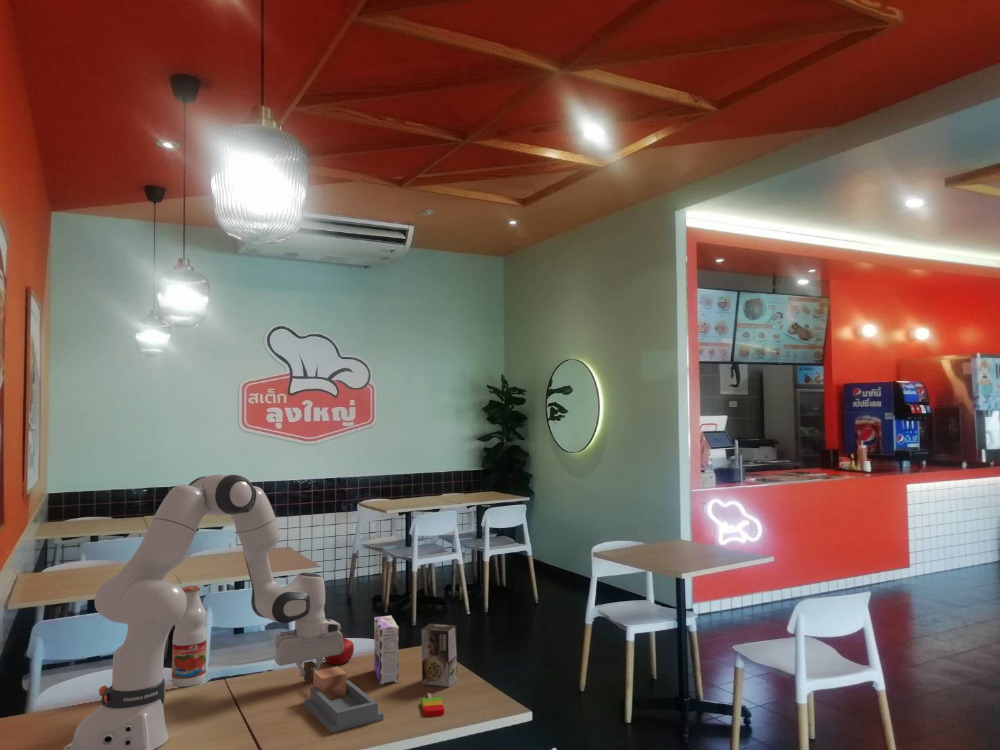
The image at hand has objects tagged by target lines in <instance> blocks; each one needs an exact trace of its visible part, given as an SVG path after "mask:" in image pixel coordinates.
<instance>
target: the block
mask: <svg viewBox="0 0 1000 750" xmlns="http://www.w3.org/2000/svg"><path fill="white" fill-rule="evenodd" d="M315 665H316V663H315V662H314V661H313V660H308V661H303V669H305V670H306V676H303V680H304V681H305V683H312V682H313V685H312V686H313V687H316V688H317V689H318V690H319V691H320V692H321V693H322V694H323V695H324V696H325V697H326V698H328V699H329V700H330V699H334V698H339V697H343V696H346V680H347V673H346V672H345V671H344V670H343V669H341V668H340V667H339V666H334V667H328V668H323V669H319V670H318V671H317V670H316V669H315Z"/></svg>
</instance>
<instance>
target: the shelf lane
mask: <svg viewBox="0 0 1000 750" xmlns="http://www.w3.org/2000/svg"><path fill="white" fill-rule="evenodd" d="M309 689H310V690H309V691H310V696H309V698H308V699H307V698H306V699H304V704H303V706H304V708H306V709H307V710H308V711H309V712H310V713H311V714H312V715H313V716H314V718H315V719H317V720H318V721H319V723H321V724H322V726H324V728H325V729H326V730H327V731H328V732H330V734H333V733H337V732H342V731H346V730H349V729H352V728H358V727H360V726H364V725H368V724H371V723H376V722H380V721H383V720H384V713H383V712H382V711H381V710H380V709H378V708H379V707H378V706H379V705H378V702H377V701H375V700H374V699H373V698H372V697H370V696H369V695H368V694H367V693H365V692H364V691H363V690H361V688H359V687H358V686H357V685H355V684H354V683H353V682H352V681H351V680H349V679H346V696H343V697H339V698H334V699H330V700H329V699H328V698H326V697H325V696H324V695H323V694H322V693H321V692H320V691H319V690H318V689H317V688H316V687H310V688H309Z"/></svg>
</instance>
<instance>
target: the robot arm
mask: <svg viewBox="0 0 1000 750" xmlns="http://www.w3.org/2000/svg"><path fill="white" fill-rule="evenodd" d="M206 515H209V516H210V515H211V516H212V515H213V516H216V517H217V516H226V515H227V516H228V515H230V517H231V518H232V520H233V524H234V526H235V529H236V533H237V536H238V539H239V542H240V545H241V547H242V551H243V554H244V560H245V564H246V567H247V572H248V577H249V580H250V584H251V598H250V599H251V602H250V603H251V608H252V610H253V613H254V614H255V615H257V616H258V617H260V618H264V619H268V620H270V621H273V622H276V623H278V624H289V623H292V622H294V629H292V630H287V631H281V632H279V633H278V634H277V635H276V637H275V639H274V646H275V649H274V650H275V652H274V662H275V664H277V666H280V667H282V666H285V665H292V664H295V665H296V666H297V669H298V670H299V676H300V677H303V678H304V676H306V670H305V669H304V667H302V666H304V662H309V661H313V660H315V661H316V663H315V669H316V670H317V671H318V670H320V667H321V665H322V663H323V661H324V660H323V659H325V658H324V657H329V656H334V655H339V654H341V653H342V652H343V648H344V647H343V637H344V636H342V635H343V633H342V632H341V624H340V623H339V622H337V621H335V620H333V619H331V618H326V614H325V604H326V586H325V579H324V577H323V576H322V575H320V574H318V573H316V572H314V573H312V572H300V573H299V574H297V576H296V577H295V578H294V579H293V580H292V581H291V582H289V583H287V584H286V585H284V586H281V585H280V584H278V583H277V581H276V580H275V579H274V576H273V572H272V568H271V564H270V559H269V552H270V551H271V550H273V549H274V548H275V546H276V545H277V544H278V541H279V539H280V529H279V524H278V521H277V517H276V515H275V512H274V509H273V507H272V505H271V502H270V500H269V497H268V496H267V495H266V493H265V492H264V490H263V489H262V488H261V487H259V486H255V485H253V484H252V483H251V481H250V480H249V479H247V478H246V477H244V476H242V475H237V474H229V475H228V474H213V475H212V474H211V475H206V476H200V477H197V478H195V479H194V480H192V481H191V482H189V484H179V485H176V486H174V487H172V488H171V489H170V490H169V492H168V493H167V494H166V495H165V497H164V498H163V500H162V501H161V503H160V505H159V506H158V509H157V510H156V512H155V515H154V516H153V518H152V520H151V521H150V524H149V527H148V529H147V530H146V533H145V535H144V537H143V539H142V541H141V543H140V545H139V546H138V548H137V550H136V551H135V552H134V554H133V555H132V556H131V558H130V559H129V560H128V561H127V563H126V564H125V565H124V566H123V567H122V568H121V570H119V572H117V573H116V574H115V575H114V576H113V577H111V578H110V579H108V580H106V581H104V583H102V584H101V585H100V586H99V588H97V591H96V593H95V597H94V608H95V610H96V611H97V613H98V615H100V616H101V617H103V618H104V619H107V620H108V621H111V622H114V623H118V624H119V623H120V624H125V625H127V633H126V637H125V639H124V641H123V643H122V644H121V645H120V646H119V647H117V649H116V650H115V651H114V653H113V657H112V673H111V674H112V676H111V677H112V678H111V680H112V681H111V686H107V685H102V686H100V688H99V689H98V694H99V696H100V697H101V705H99V706H98V707H97V708H96V709H95V710H93V711H92V712H91V713H90V714H88V716H86V717H85V718H83V719H82V720H81V721H80V722H79V724H78V725H77V727H76V729H75V732H74V734H73V739H72V742H70V743H69V744H67V745H66V746H65V747H64V748H63V749H62V750H156V749H157V748H160V747H161V746H163V745H164V744H166V742H167V741H169V738H170V737H169V731H168V729H167V725H166V718H165V710H164V703H165V699H166V680H165V678H164V665H165V664H164V663H165V662H164V661H165V650H166V644H167V641H168V637H169V635H170V633H171V630H172V629H173V627H175V624H176V623H177V622H178V621H179V620H180V619H181V617H182V616H183V614H184V612H185V610H186V606H187V598H186V594H185V592H184V591H183V590H182V589H183V588H181V587H180V586H178V585H176V584H174V583H171V582H169V581H166V580H164V578H165V577H166V576H167V575H168V574H169V573H170V572H171V571H172V570H173V569H175V568H177V567H179V566H180V565H181V564H182V563H183V562H184V561H185V559H186V556H187V553H188V552H189V549H190V547H191V546H192V545H191V544H192V542H193V540H194V538H195V535H196V533H197V530H198V528H199V525H200V523H201V520H202V519H203V518H204V517H205V516H206Z"/></svg>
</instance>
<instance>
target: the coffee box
mask: <svg viewBox="0 0 1000 750" xmlns="http://www.w3.org/2000/svg"><path fill="white" fill-rule="evenodd" d="M420 632H421V684H422V685H427V686H428V685H431V686H438V687H447V688H450V687H451V686H452V685H453V684H455V683H456V682H457V681H458V665H457V664H458V659H457V657H458V651H457V650H458V648H457V645H458V644H457V643H458V642H457V625H453V624H443V623H428V624H427V625H426V626H424V627H423V628H421V631H420Z"/></svg>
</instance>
